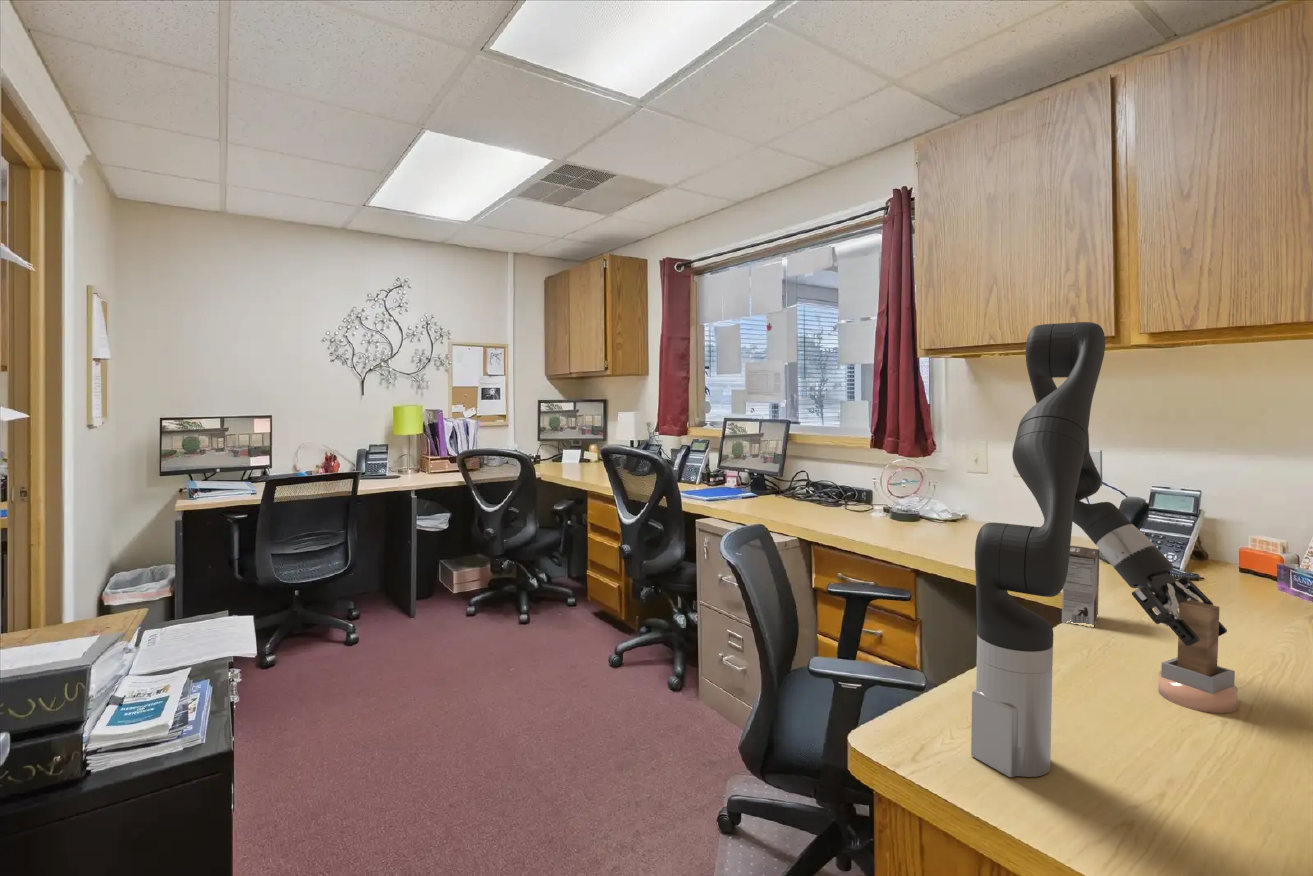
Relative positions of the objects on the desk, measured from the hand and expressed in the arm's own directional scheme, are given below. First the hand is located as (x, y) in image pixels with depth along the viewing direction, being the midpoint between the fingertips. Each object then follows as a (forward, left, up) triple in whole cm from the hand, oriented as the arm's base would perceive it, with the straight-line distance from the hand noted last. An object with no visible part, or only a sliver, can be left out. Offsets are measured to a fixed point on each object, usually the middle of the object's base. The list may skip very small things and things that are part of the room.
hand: (1208, 639), depth 104 cm
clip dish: (0, +1, -11) cm, 11 cm away
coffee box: (+22, +33, -11) cm, 41 cm away
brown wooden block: (0, +1, -8) cm, 8 cm away
